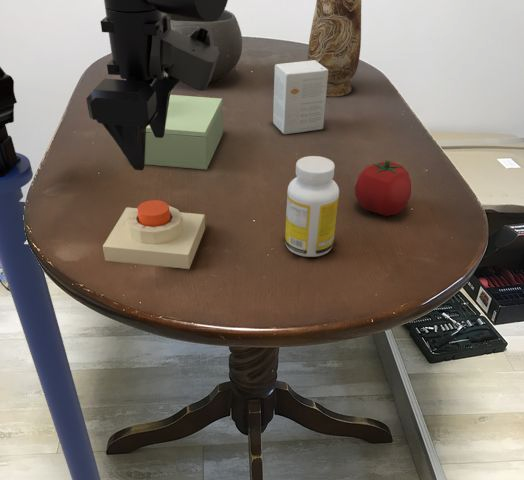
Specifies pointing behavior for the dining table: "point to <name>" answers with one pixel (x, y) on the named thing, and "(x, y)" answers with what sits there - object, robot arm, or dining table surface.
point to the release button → (153, 213)
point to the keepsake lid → (190, 115)
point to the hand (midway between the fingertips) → (149, 152)
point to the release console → (155, 240)
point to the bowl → (216, 38)
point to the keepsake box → (184, 147)
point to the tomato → (383, 188)
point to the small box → (299, 96)
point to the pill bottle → (311, 207)
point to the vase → (336, 42)
